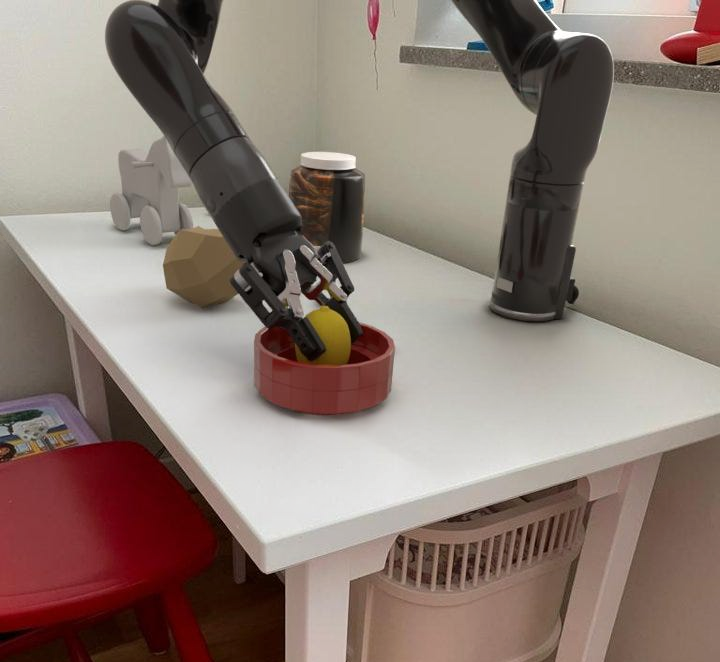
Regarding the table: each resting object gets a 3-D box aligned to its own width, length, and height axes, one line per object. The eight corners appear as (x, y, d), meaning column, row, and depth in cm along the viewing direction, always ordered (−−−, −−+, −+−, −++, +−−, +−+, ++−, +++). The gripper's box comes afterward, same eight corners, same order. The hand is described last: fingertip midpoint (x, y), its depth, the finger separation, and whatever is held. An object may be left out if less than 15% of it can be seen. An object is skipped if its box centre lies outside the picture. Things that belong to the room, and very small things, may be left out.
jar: (342, 268, 119) (347, 165, 111) (275, 256, 122) (276, 155, 115) (371, 252, 128) (378, 156, 121) (308, 241, 132) (311, 147, 124)
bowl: (384, 367, 85) (388, 320, 83) (395, 423, 74) (401, 370, 71) (259, 363, 84) (258, 314, 82) (250, 419, 72) (249, 364, 70)
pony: (214, 247, 125) (210, 134, 116) (156, 255, 119) (147, 137, 110) (156, 221, 138) (148, 118, 129) (100, 227, 132) (89, 119, 123)
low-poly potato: (236, 324, 95) (289, 266, 100) (184, 250, 89) (244, 192, 94) (171, 324, 106) (222, 271, 110) (120, 258, 99) (176, 205, 104)
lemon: (324, 367, 82) (327, 293, 78) (359, 385, 79) (365, 309, 74) (283, 379, 78) (284, 303, 74) (318, 398, 75) (321, 319, 71)
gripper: (212, 184, 67) (315, 349, 68) (313, 168, 78) (402, 311, 78) (173, 234, 72) (269, 387, 73) (272, 213, 83) (356, 347, 83)
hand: (337, 347), depth 76 cm, fingers closed on lemon, 5 cm apart
